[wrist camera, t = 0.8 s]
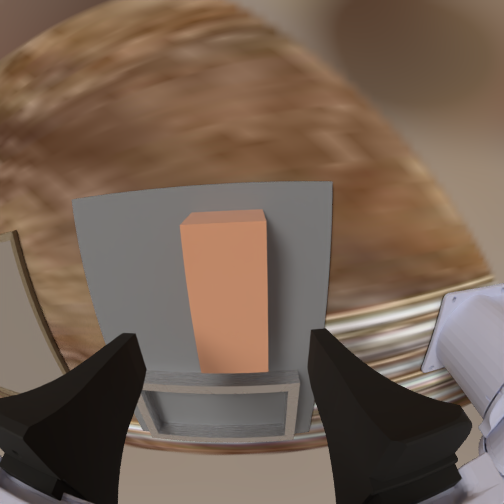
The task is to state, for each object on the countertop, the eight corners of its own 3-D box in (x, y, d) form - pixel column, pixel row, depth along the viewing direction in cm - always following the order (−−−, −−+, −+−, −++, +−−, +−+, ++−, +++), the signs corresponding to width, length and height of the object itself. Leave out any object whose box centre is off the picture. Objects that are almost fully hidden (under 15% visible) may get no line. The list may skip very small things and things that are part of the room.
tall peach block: (262, 209, 16) (266, 220, 13) (265, 342, 19) (268, 372, 16) (191, 212, 16) (179, 225, 13) (206, 344, 19) (201, 373, 16)
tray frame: (296, 369, 20) (299, 382, 18) (291, 426, 22) (293, 439, 21) (132, 368, 20) (127, 381, 18) (155, 425, 22) (152, 437, 21)
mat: (330, 181, 16) (332, 181, 15) (308, 429, 23) (308, 431, 23) (74, 199, 16) (71, 199, 15) (143, 428, 23) (143, 430, 22)
